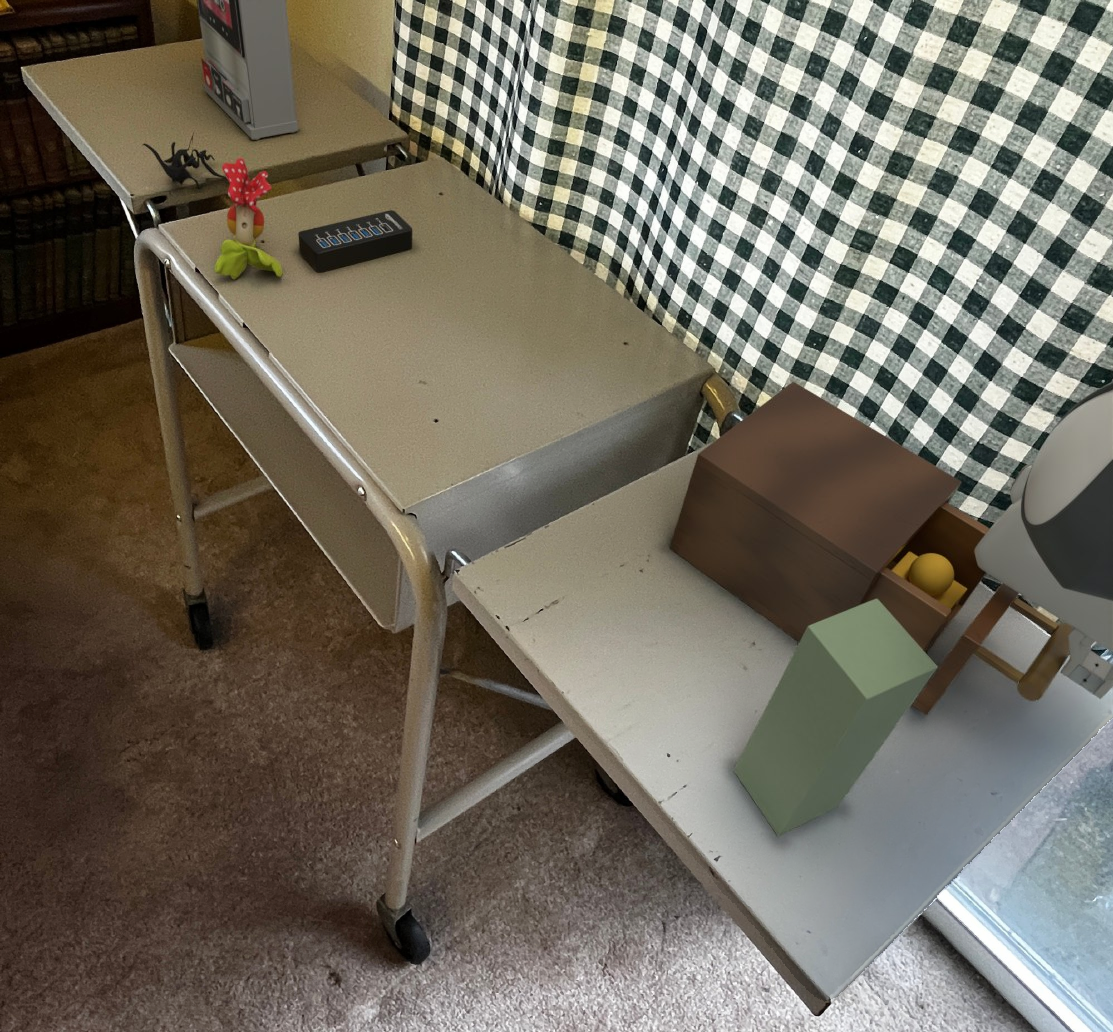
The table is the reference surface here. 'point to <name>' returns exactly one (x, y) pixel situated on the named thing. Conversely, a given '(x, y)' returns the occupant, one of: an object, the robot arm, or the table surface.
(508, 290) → the table surface
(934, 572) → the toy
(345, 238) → the multiport hub
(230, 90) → the cassette tape recorder
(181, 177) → the creature
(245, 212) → the multicoloured upright piece
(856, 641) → the green rectangular block
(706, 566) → the cabinet
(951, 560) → the drawer
